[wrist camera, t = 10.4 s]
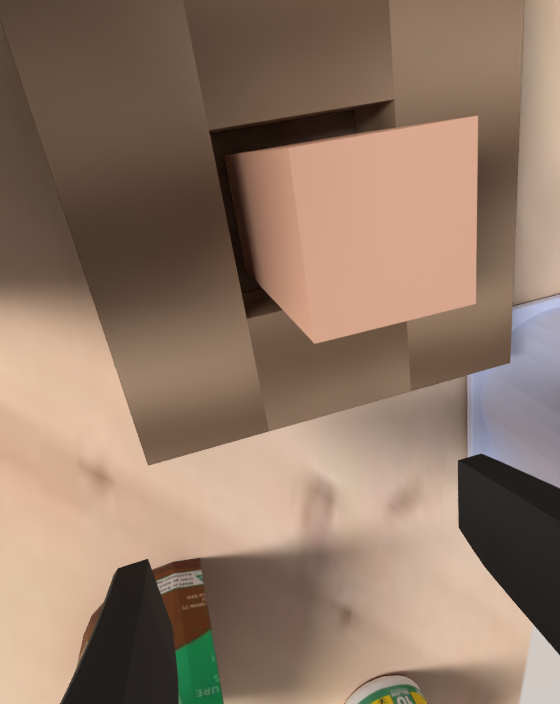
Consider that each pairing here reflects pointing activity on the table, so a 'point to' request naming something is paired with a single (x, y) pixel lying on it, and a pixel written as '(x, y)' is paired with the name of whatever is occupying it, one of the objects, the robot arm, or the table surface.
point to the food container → (185, 631)
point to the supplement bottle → (388, 692)
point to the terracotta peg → (362, 225)
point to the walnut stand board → (207, 203)
